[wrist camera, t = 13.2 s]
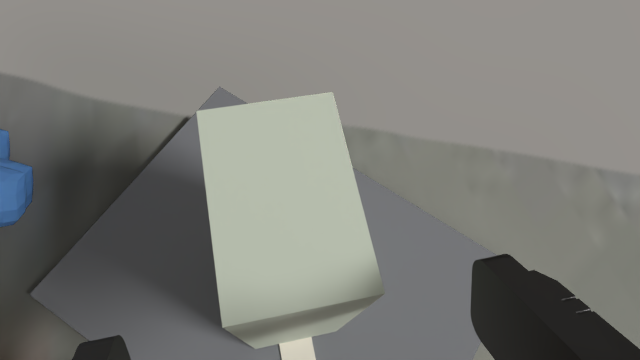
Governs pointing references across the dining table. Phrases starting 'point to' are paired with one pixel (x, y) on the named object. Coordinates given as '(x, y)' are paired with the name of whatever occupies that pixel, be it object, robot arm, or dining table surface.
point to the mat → (201, 285)
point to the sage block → (285, 220)
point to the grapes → (13, 184)
